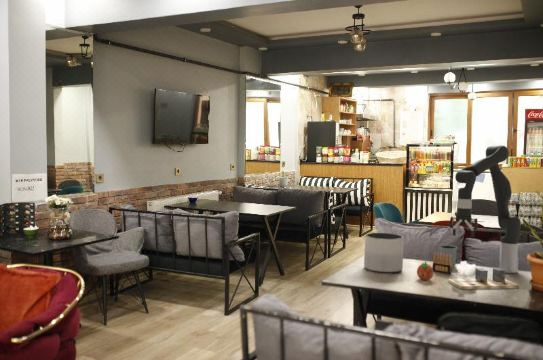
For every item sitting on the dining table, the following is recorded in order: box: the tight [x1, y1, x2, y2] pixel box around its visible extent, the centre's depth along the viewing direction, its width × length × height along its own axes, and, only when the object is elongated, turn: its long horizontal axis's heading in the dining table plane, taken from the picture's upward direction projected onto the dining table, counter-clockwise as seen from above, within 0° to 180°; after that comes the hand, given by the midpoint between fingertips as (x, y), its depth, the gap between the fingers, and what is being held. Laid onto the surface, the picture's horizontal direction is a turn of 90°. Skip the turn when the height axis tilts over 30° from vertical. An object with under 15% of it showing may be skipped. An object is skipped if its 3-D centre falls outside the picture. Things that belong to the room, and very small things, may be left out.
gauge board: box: [447, 267, 520, 290], centre depth 276 cm, size 32×14×8 cm, turn 98°
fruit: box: [416, 261, 434, 281], centre depth 284 cm, size 9×10×10 cm
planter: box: [363, 232, 404, 274], centre depth 306 cm, size 22×22×20 cm
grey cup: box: [439, 244, 458, 269], centre depth 318 cm, size 10×10×12 cm
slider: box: [474, 267, 488, 283], centre depth 277 cm, size 4×8×6 cm, turn 8°
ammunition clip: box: [431, 251, 452, 275], centre depth 301 cm, size 11×2×12 cm, turn 55°
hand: (463, 236), depth 286 cm, fingers open, 8 cm apart
